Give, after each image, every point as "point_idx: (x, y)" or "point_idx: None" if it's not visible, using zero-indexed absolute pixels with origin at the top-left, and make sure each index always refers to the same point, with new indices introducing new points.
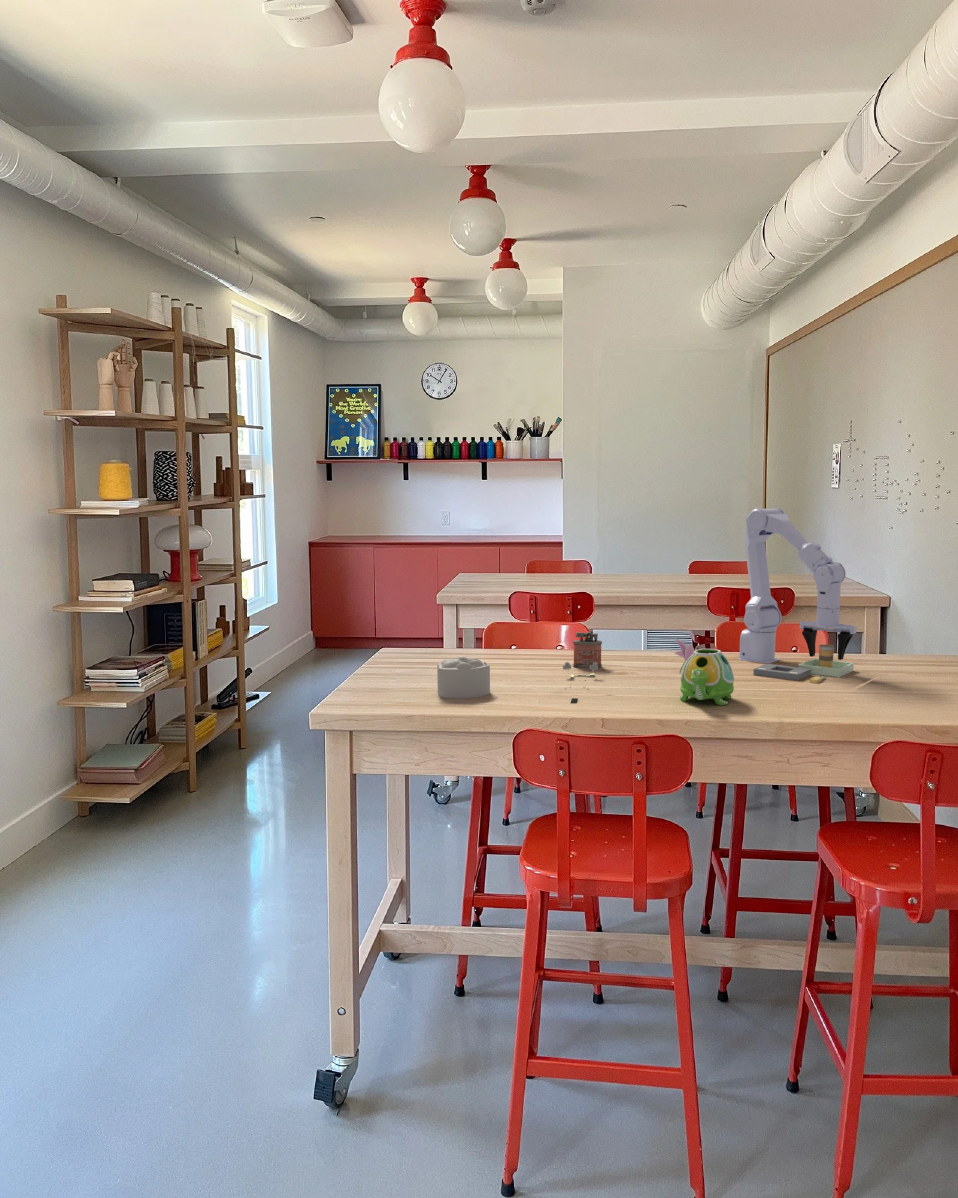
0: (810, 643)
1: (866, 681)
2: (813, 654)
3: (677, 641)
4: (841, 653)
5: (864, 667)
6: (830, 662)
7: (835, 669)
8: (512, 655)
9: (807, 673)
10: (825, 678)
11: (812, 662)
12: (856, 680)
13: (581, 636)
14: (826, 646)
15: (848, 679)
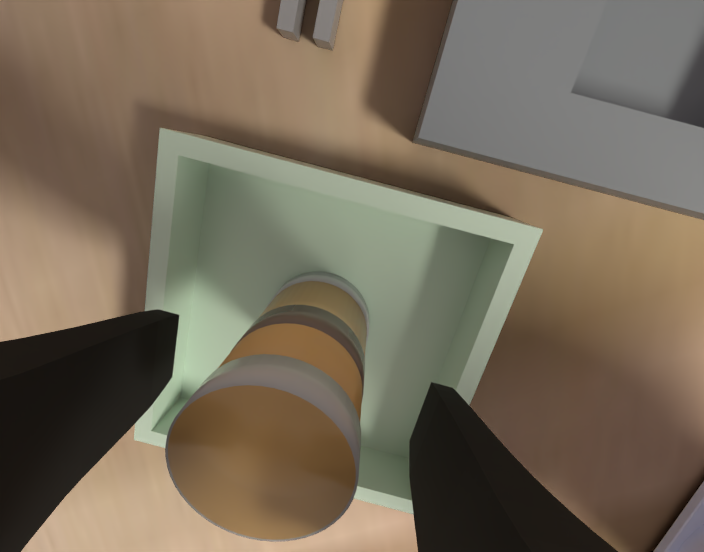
0: (492, 477)
1: (22, 131)
2: (421, 422)
3: None
4: (95, 325)
5: (152, 536)
6: (261, 314)
7: (198, 139)
8: None
9: (439, 56)
10: (281, 17)
11: None
12: (88, 138)
13: None
14: (250, 416)
15: (143, 152)
